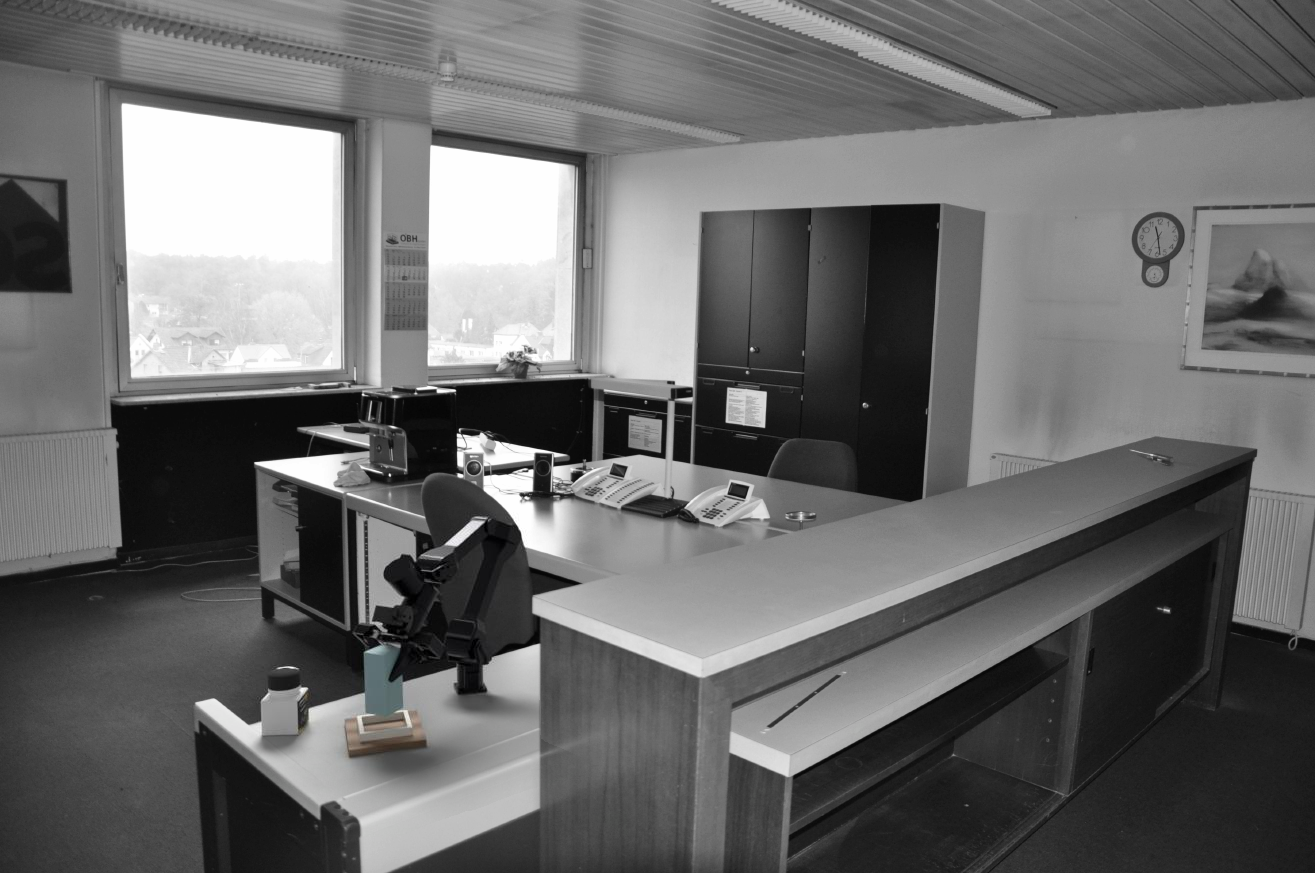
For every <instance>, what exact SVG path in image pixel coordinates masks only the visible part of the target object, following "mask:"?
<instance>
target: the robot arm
mask: <svg viewBox="0 0 1315 873" xmlns="http://www.w3.org/2000/svg"><path fill="white" fill-rule="evenodd" d="M521 541H522V531H521V530H520V528H519V526H518V524H515V523H507V522H503V521H501V520H500V521H499V520H497V519H495V518H493V517H491V516H482V515H475V516H472V517H471V519H470V520H469V522H468V523H467V524H466V525H464V527H463V528H462V529H460V530H459V531H458V532H457V533H456V534H454V536H452V537H451V538H450V539H449V540H448V541H447V542H446V543H445V544H443V545H442V546H440V547H436V548H431V549H430V550H428V551H426V552H424V553H422V554H420V556H418V557H417V559H416V560H414V557H413V556H412V555H411V554H408V553H401V555H400V557H399V558H396V559H394V560H392V561H391V562H389V563H388V564H387V565H386V566H385V568H384V570H383V573H382V574H383V578H384V580H385V581H386V582H387V583H388V585H390V587H391V588H392V589H393V590H394V591H395V592H396V593H397V594H398V595H399V596H400V597H403V599H402V602H401V603H400V605H399V604H395V605H394V606H393V607H391V606H383V605H379V604H378V605H375V607H374V610H373V615H372V618H371V622H372V623H367V622H360V623H357V624H356V626H355V628H354V629H353V631H352V635H354V636H355V637H356V638H357V640H359V641H360V642H361V643H362V644H363V645H364V646H365V647H367V648H368V650H370V649H373V648H375V647H377V646H380V645H386V646H387V644H393V645H396V646H397V645H400V647H399V648H400V655H399V657H398V659H397V661H396V663H395V665H394V667H393V669H392V671H391V673H390V676H389V679H388V681H389V682H391V683H392V682H394V681H395V680H396V679H397V678H399V677H400V676H401V675H402V676H403V675H404V674H405V673H406V672H408V670H410V669H411V668H413V667H414V666H415V665H418V663H420V662H422V661H426V659H427V657H428V658H432V659H438V660H440V659H441V658H442V656H443V653H444V652H445V655H446V659H447V661H448V662H450V663H451V662H452V663H456V682H454V683H453V687H455V688H454V689H456V690H455V692H456V694H457V695H465V694H473V693H480V692H481V693H482V692H486V691H488V688H487V685H486V683H485V682H484V666H486V665H487V666H488V665H489V664H490V662H492V660H493V654H494V650H492V648H491V647H490V646H489V645H488V644H487V642H486V641H487V636H488V635H487V631H486V625H485V621H486V617H487V615H488V611H489V608H490V606H491V603H492V599H493V596H494V594H495V590H496V589H497V585H498V581H499V579H500V576H501V573H502V570H503V568H504V564H505V563H506V562H507V561H508V560H509V559H510V558H512V557H513V556H514V555H515V554H516V551H517V549H518V547H519V545H520V542H521ZM479 544H480V546H481V550H482V554H483V557H482V560H481V562H480V565H479V568H478V570H477V573H476V575H475V576H476V577H475V579H474V582H473V585H472V588H471V591H470V593H469V596H468V599H467V601H466V605H465V608H464V610H463V613H462V615H461V616H460V617H459V618H458V619H457V618H456V619H454V618H452V619H451V620H450V622H449V625H448V628H447V631H446V633H445V634H444V641H443V642H442V641H441V640H440V638H438V637H437V636H436V635H435V633H432V632H429V631H427V632H426V631H421V629H422V627H427V626H428V624H429V621H428V620H427V617H428V614H429V612H430V611H431V608H432V607H433V605H434V602H439V603H441V602H443V595H442V593H441V588H440V587H435V586H434V585H433V583H435V584H443V585H446V584H448V583H450V582H451V581H452V580H453V578H454V577H455V576H456V575H457V573H458V571H459V564H460V562H461V561H462V560H464V558H466V557H467V555H469V554H470V553H471V552H472V551H473V550H475V549H476V547H477V546H478V545H479ZM374 623H381V624H382V625H381V627H382V628H383V629H384V630H386V631H382V630H381V629H380V628H379V627H378V626H377V625H376V624H374ZM426 655H427V657H426Z"/></svg>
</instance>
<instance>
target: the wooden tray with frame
mask: <svg viewBox="0 0 1315 873" xmlns="http://www.w3.org/2000/svg"><path fill="white" fill-rule="evenodd" d="M344 729H345V735H346V736H345V737H346V742H347V744H346V745H347V751H348V757H354V756H356V757H357V756H362V755H363V756H364V755H369V754H370V755H371V754H375V753H376V754H377V753H385V752H391V751H397V750H406V749H412V748H419V747H420V748H421V747H425V746H426V747H427V746H428V745H427V744H428V743H427V737H426V734H425V731H424V728H423V726H422V722H421V720H420V717H419V713H418V711H417V709H414V710H408V709H404V710H403V709H400V710H398V711H396V712H394V713H393V714H391V715H389V716H387V717H384V716H379V715H374V714H369V713H368V714H363V715H357V716H355V717H349V718H344Z"/></svg>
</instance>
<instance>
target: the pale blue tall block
mask: <svg viewBox="0 0 1315 873" xmlns="http://www.w3.org/2000/svg"><path fill="white" fill-rule="evenodd" d="M399 655H400V647H397V646H390V645H387V644H386V645H380V646H377V647H375V648H373V649H370V650H369V649H368V650H366V651H364V652H363V668H364V669H363V672H364V673H363V674H364V703H365V704H364V707H365V709H364V710H365V714H368V715H369V714H374V715H379V716H384V717H387V716H389V715H391V714H393V713H394V712H396V711H401V710H403V708H404V693H403V692H404V689H403V687H404V684H403V682H404V681H403V674H402V675H401V676H400V677H399V678H397V679H396V680H395V681H394V682H392V683H391V682H389V681H388V679H389V676H390V673H391V671H392V669H393V667H394V665H395V663H396V661H397V659H398V657H399Z"/></svg>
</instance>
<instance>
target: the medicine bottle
mask: <svg viewBox="0 0 1315 873" xmlns="http://www.w3.org/2000/svg"><path fill="white" fill-rule="evenodd" d="M301 674H302V673H301V670H300V669H299V668H297V667H295V666H282V667H281V666H280V667H276V668H274V669H272V670H270V671H269V672H268V674H267V691H268V692H267V694H266V695H265V696H264V697H263V698H262V699H261V701H260V716H261V717H260V718H261V719H260V720H261V735H262V736H263V737H265V736H267V737H268V736H271V737H272V736H273V737H274V736H298V735H300V734H301V732H302V731H303V730H304V728H305V727H306V726H307V724H308V723H309V721H310V712H309V688H308V687H302V680H301V678H302V677H301V676H302V675H301Z"/></svg>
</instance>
